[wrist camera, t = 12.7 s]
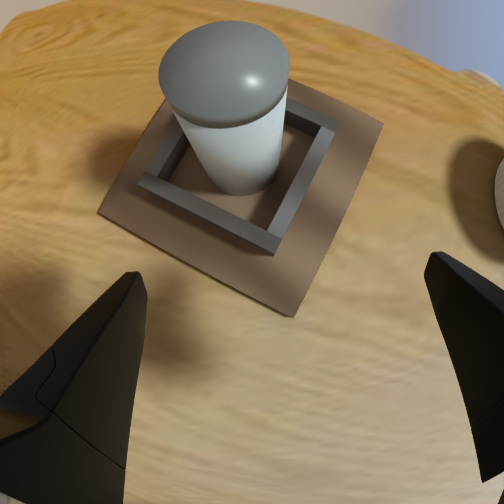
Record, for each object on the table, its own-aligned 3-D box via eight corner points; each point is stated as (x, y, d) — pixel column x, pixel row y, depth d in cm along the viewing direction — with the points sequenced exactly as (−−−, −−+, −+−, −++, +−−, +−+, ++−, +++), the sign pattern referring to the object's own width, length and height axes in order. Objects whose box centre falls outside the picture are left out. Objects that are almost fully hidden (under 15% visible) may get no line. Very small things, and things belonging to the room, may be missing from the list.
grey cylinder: (230, 210, 22) (198, 142, 11) (191, 153, 22) (139, 60, 11) (294, 169, 22) (317, 75, 11) (252, 116, 22) (242, 7, 11)
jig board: (292, 317, 21) (295, 322, 19) (102, 213, 23) (85, 206, 20) (381, 126, 22) (392, 111, 20) (204, 54, 24) (199, 35, 21)
